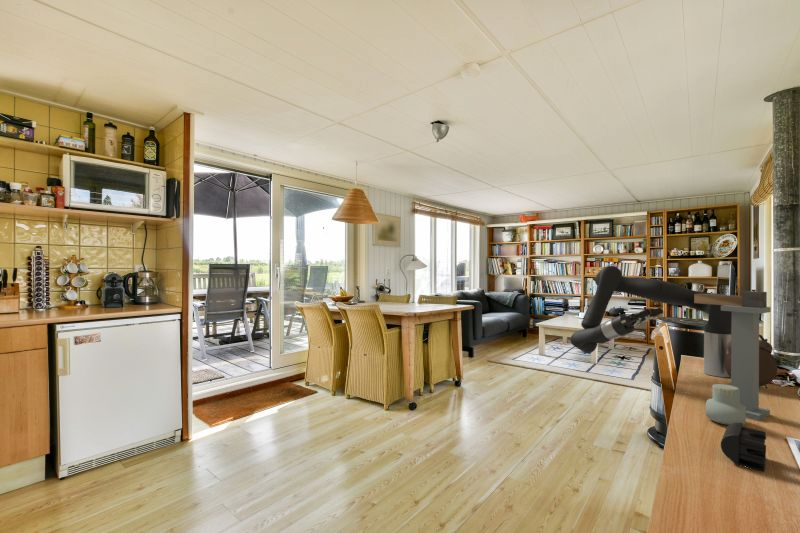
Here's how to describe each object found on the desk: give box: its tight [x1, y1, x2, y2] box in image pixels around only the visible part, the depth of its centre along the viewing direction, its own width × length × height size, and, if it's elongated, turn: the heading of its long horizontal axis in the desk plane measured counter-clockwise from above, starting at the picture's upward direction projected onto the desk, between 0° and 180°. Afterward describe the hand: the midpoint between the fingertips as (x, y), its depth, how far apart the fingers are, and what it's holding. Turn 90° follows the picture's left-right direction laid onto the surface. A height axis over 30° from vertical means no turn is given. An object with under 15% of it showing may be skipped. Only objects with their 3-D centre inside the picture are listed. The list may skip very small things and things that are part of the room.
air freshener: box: [705, 383, 747, 426], centre depth 108 cm, size 11×8×10 cm
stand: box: [721, 305, 772, 422], centre depth 116 cm, size 9×9×32 cm
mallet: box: [694, 290, 768, 308], centre depth 119 cm, size 6×16×4 cm, turn 32°
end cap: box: [720, 423, 767, 473], centre depth 87 cm, size 10×7×7 cm
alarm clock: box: [725, 333, 778, 389], centre depth 142 cm, size 15×7×20 cm, turn 84°
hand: (656, 310), depth 140 cm, fingers open, 8 cm apart
